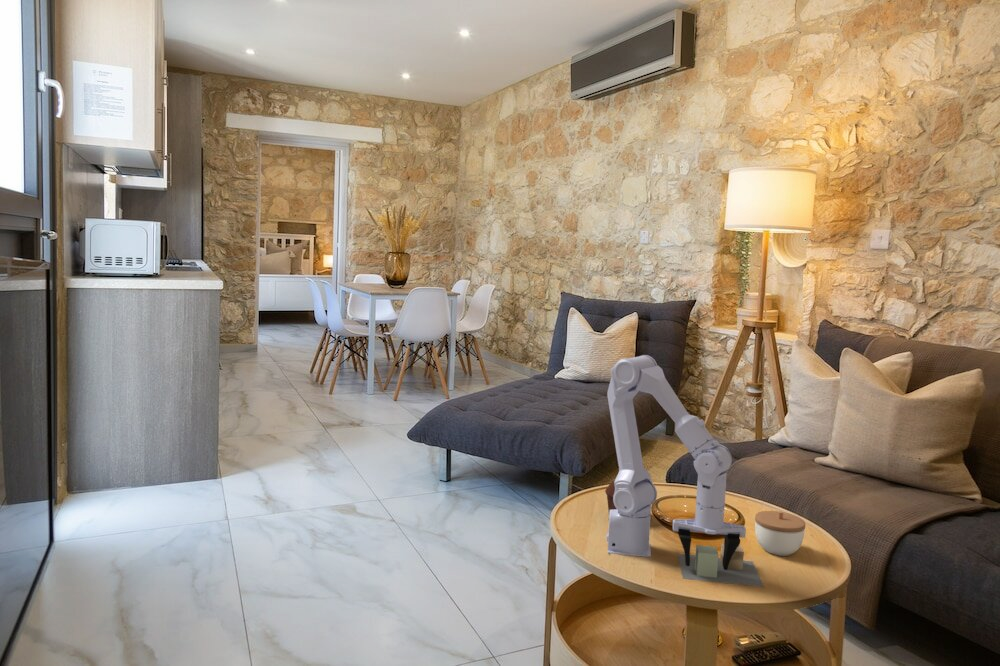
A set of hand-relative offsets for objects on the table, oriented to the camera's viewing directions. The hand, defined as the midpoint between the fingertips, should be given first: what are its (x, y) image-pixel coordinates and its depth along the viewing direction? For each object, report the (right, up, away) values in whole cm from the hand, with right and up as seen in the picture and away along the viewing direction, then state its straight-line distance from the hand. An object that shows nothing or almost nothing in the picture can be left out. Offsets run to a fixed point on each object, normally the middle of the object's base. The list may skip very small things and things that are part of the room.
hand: (706, 565), depth 146 cm
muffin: (-11, +2, +31) cm, 33 cm away
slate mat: (+3, -2, +2) cm, 4 cm away
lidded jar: (+20, -1, +13) cm, 24 cm away
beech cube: (+7, -1, +4) cm, 8 cm away
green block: (0, -1, 0) cm, 1 cm away
